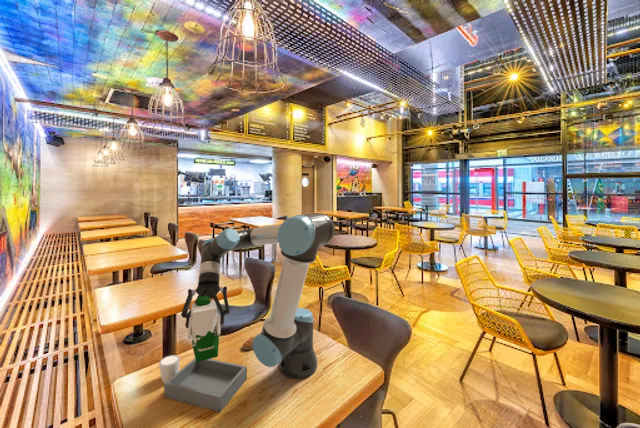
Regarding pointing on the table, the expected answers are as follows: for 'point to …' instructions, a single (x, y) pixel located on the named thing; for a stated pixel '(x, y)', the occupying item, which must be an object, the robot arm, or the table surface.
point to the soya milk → (204, 329)
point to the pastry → (249, 343)
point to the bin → (206, 383)
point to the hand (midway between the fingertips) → (204, 335)
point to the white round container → (169, 367)
